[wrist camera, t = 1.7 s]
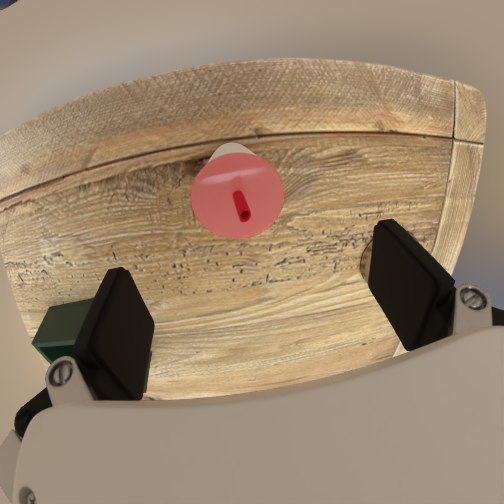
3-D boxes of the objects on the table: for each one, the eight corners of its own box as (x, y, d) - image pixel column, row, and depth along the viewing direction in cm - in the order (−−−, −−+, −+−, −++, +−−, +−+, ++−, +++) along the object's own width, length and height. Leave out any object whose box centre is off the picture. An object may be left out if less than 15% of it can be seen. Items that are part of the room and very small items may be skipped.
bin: (91, 358, 36) (81, 393, 30) (49, 307, 30) (31, 343, 24) (152, 352, 36) (146, 393, 30) (112, 294, 29) (96, 337, 24)
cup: (251, 122, 21) (281, 151, 11) (269, 178, 24) (307, 249, 14) (191, 144, 22) (166, 192, 12) (213, 197, 25) (211, 280, 15)
